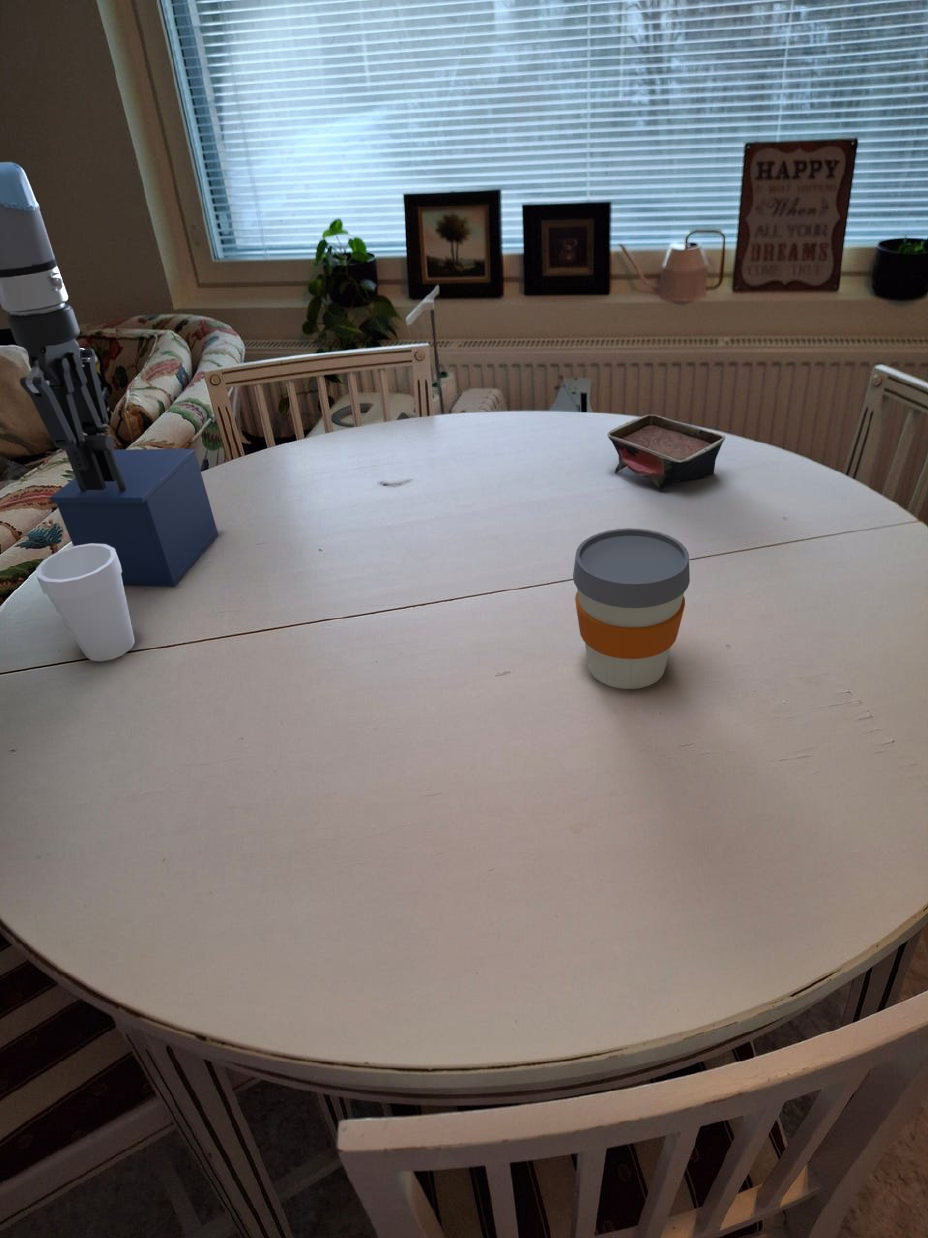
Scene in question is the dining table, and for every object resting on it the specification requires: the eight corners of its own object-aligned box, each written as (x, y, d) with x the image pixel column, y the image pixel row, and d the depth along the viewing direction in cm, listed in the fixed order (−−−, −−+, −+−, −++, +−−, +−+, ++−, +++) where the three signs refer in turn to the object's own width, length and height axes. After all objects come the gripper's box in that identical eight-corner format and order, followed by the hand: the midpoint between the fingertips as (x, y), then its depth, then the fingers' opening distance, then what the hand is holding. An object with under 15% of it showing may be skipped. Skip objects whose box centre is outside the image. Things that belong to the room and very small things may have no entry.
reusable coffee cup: (551, 673, 94) (550, 563, 86) (608, 623, 102) (612, 517, 94) (646, 714, 87) (654, 598, 79) (700, 656, 95) (712, 545, 87)
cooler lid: (143, 502, 109) (123, 441, 104) (51, 502, 112) (27, 442, 107) (196, 453, 123) (180, 397, 118) (112, 454, 125) (94, 399, 120)
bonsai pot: (663, 512, 130) (679, 457, 123) (592, 464, 141) (602, 410, 134) (724, 492, 136) (741, 438, 130) (651, 447, 147) (664, 396, 141)
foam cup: (160, 629, 109) (131, 545, 101) (121, 671, 101) (87, 584, 94) (99, 624, 111) (66, 541, 103) (57, 665, 103) (18, 579, 96)
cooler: (174, 586, 118) (146, 500, 110) (88, 584, 120) (54, 500, 112) (218, 534, 131) (196, 453, 123) (139, 533, 133) (112, 454, 125)
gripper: (28, 323, 91) (97, 509, 105) (98, 291, 104) (151, 462, 117) (-30, 325, 93) (45, 509, 106) (46, 294, 105) (104, 462, 118)
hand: (101, 484), depth 111 cm, fingers closed on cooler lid, 2 cm apart
